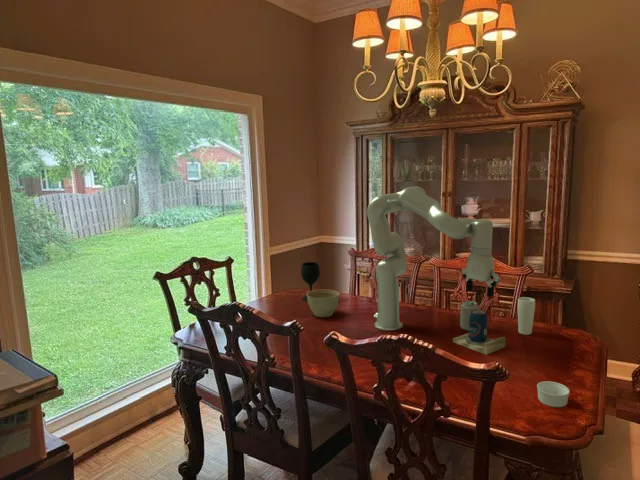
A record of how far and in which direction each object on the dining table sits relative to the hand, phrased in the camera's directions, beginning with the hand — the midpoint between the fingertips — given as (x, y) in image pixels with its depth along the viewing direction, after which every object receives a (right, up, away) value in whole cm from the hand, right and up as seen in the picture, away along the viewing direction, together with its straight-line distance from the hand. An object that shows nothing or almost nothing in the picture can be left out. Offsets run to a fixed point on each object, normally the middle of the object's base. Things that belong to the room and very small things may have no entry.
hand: (479, 293), depth 179 cm
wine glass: (-68, -12, +73) cm, 101 cm away
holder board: (+1, -21, +3) cm, 21 cm away
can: (+3, -18, +21) cm, 28 cm away
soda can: (0, -19, +3) cm, 20 cm away
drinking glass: (+25, -19, +14) cm, 34 cm away
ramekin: (+8, -28, -41) cm, 50 cm away
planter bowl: (-62, -16, +46) cm, 78 cm away
